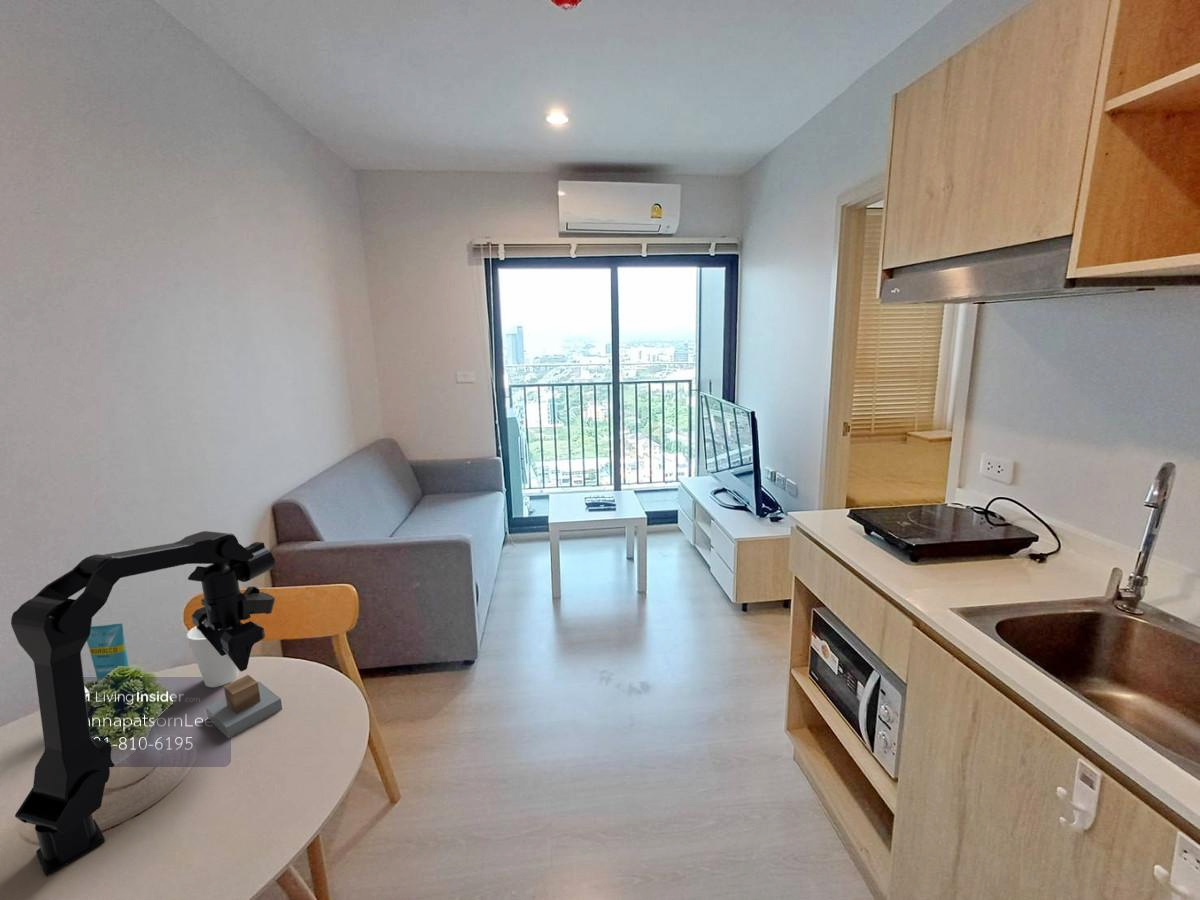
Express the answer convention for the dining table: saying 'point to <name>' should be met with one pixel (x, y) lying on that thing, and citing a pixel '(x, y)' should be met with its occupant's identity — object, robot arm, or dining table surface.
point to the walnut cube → (242, 693)
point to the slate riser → (243, 712)
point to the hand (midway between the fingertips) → (233, 662)
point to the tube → (107, 648)
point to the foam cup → (211, 661)
